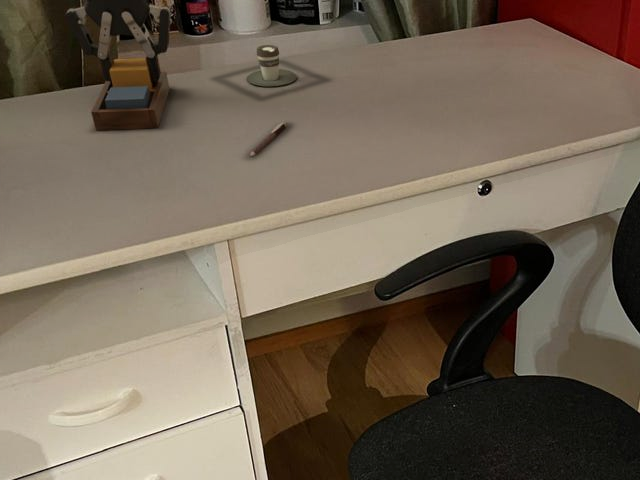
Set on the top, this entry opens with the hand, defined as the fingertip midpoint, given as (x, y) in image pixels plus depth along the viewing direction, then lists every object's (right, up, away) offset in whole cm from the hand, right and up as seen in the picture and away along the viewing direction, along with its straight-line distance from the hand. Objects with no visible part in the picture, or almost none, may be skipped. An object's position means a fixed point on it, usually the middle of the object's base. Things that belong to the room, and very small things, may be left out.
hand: (134, 82), depth 125 cm
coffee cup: (+17, +3, +10) cm, 20 cm away
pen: (+22, -11, -9) cm, 26 cm away
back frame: (+1, -4, -1) cm, 5 cm away
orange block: (0, 0, 0) cm, 0 cm away
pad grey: (+1, -6, -5) cm, 8 cm away
